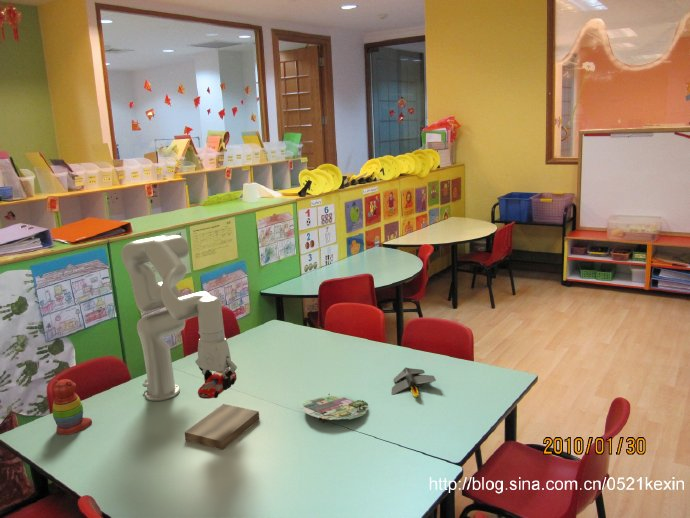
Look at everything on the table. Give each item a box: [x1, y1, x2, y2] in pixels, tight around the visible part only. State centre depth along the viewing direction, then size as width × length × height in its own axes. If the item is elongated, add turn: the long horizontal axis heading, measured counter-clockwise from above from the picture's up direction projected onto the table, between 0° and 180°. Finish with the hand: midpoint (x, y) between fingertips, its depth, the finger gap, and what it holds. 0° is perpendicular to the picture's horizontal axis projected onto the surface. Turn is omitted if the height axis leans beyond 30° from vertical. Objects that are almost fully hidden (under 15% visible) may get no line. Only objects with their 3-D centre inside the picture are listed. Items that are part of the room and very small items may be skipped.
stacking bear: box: [52, 378, 93, 436], centre depth 197 cm, size 11×10×18 cm
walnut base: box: [184, 403, 260, 451], centre depth 192 cm, size 15×20×3 cm
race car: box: [197, 370, 237, 400], centre depth 188 cm, size 16×7×5 cm, turn 157°
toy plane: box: [390, 367, 437, 398], centre depth 215 cm, size 25×17×5 cm
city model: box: [301, 393, 370, 423], centre depth 199 cm, size 25×23×6 cm
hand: (218, 386), depth 188 cm, fingers closed on race car, 6 cm apart
